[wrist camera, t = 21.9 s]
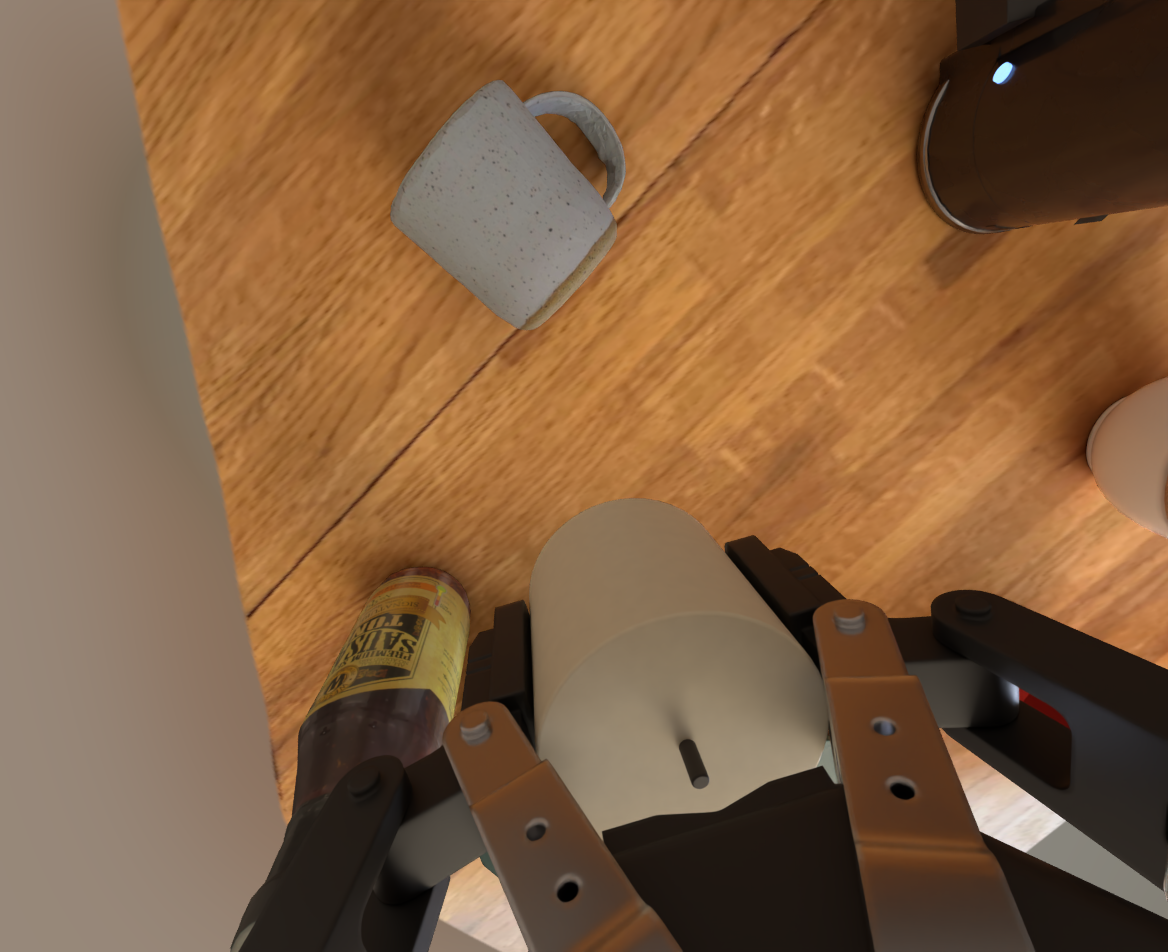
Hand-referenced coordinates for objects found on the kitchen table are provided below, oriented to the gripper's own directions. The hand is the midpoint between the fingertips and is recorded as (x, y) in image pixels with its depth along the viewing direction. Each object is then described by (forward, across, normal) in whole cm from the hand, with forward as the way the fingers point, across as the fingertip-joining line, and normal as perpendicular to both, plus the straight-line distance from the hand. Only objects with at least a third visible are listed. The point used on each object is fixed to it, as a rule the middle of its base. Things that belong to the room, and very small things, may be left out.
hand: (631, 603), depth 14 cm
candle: (+1, 0, 0) cm, 1 cm away
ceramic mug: (+20, -1, -12) cm, 24 cm away
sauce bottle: (+20, +12, +8) cm, 25 cm away
